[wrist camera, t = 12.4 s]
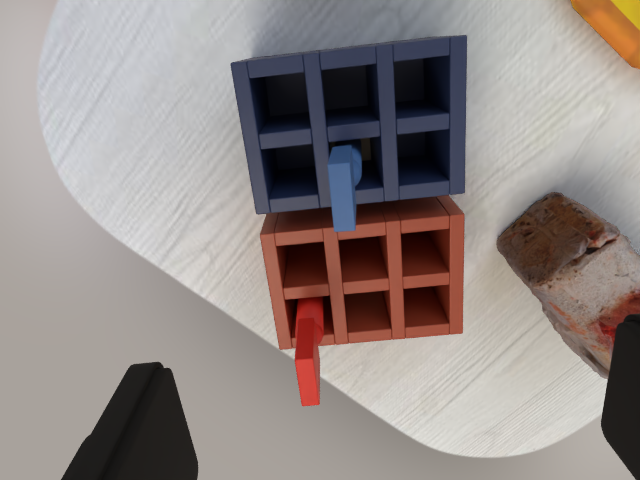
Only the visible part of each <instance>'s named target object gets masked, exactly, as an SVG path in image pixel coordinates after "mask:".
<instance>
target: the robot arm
mask: <svg viewBox="0 0 640 480" xmlns="http://www.w3.org/2000/svg"><path fill="white" fill-rule="evenodd" d="M601 427H602V431H603V434H604V436H605V438H606V440H607V442H608V443H609V444H610V446H611V447H612V448H613V449H614V451H615V452H616V454H617V455H618V456H619V458H620V459H621V460H622V461H623V463H624V464H625V465H626V467H627V468H628V470H629V471H630V472H631V473H632V475H633V476H634V477H635V479H636V480H640V313H638V314H630V315H627V316H626V317H625V319H624V321H623V322H621V323H619V324H618V325H617V328H616V333H615V339H614V345H613V352H612V358H611V364H610V370H609V376H608V382H607V388H606V394H605V401H604V407H603V413H602V419H601ZM197 476H198V461H197V457H196V453H195V450H194V447H193V443H192V440H191V436H190V432H189V429H188V426H187V422H186V418H185V415H184V412H183V408H182V405H181V401H180V398H179V394H178V391H177V387H176V384H175V380H174V377H173V373H172V371H171V369H170V368H164V367H163V365H162V364H161V363H160V362H152V363H142V364H133V365H131V366H130V367H129V368H128V370H127V372H126V373H125V375H124V377H123V379H122V380H121V382H120V384H119V386H118V387H117V389H116V391H115V393H114V394H113V396H112V398H111V400H110V401H109V403H108V405H107V407H106V409H105V410H104V412H103V414H102V416H101V417H100V419H99V421H98V423H97V424H96V426H95V428H94V430H93V431H92V433H91V435H89V436H88V437H87V438H86V439H85V440H84V442H83V443H82V444H81V446H80V448H79V449H78V451H77V453H76V455H75V456H74V458H73V460H72V462H71V463H70V465H69V467H68V469H67V470H66V472H65V474H64V475H63V477H62V479H61V480H197Z"/></svg>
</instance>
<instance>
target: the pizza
mask: <svg viewBox="0 0 640 480" xmlns="http://www.w3.org/2000/svg"><path fill="white" fill-rule="evenodd" d="M570 1H571V3H572V6H573V8H574V9H575V10H576V11H577V12H578V13H579V14H580V15H581V16H582V17H583V18H584V19H585V20H586V21H587V22H588V23H589V24H590V25H591V26H592V27H593V28H594V29H595V30H596V31H597V32H598V33H599V34H600V35H601V36H602V37H603V38H604V39H605V40H606V41H607V42H608V43H609V44H610V45H611V46H612V47H613V48H614V49H615V50H616V51H617V52H618V53H619V54H620V55H621V56H622V57H623V58H624V59H625V61H626V62H627V63H628V64H629V65H630V66H631V67H634V68H638V69H640V0H570Z"/></svg>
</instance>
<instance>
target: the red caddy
mask: <svg viewBox="0 0 640 480" xmlns="http://www.w3.org/2000/svg"><path fill="white" fill-rule="evenodd" d="M260 239H261V245H262V250H263V256H264V262H265V268H266V273H267V279H268V285H269V291H270V297H271V302H272V308H273V314H274V320H275V326H276V331H277V337H278V343H279V349H280V350H282V349H292V347H293V348H296V337H295V329H296V317H297V306H298V298H309V297H320V296H323V330H324V335H323V339H322V341H321V343H320V344H319V345H318V346H325V345H335V344H336V345H339V344H348V343H359V342H370V341H381V340H391V339H393V340H394V339H405V338H416V337H427V336H438V335H449V334H461V333H463V276H464V213H463V212H462V211H461V210H460V208H459V207H458V206H457V205H456V204H455V203H454V201H453V200H452V199H451V198H450V197H449V195H443V196H433V197H424V198H414V199H404V200H400V199H399V200H394V201H384V202H375V203H365V204H356V230H355V231H342V232H334V226H333V217H332V207H324V208H316V209H306V210H296V211H287V212H277V213H267V214H266V217H265V220H264V224H263V227H262V230H261V233H260Z"/></svg>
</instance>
